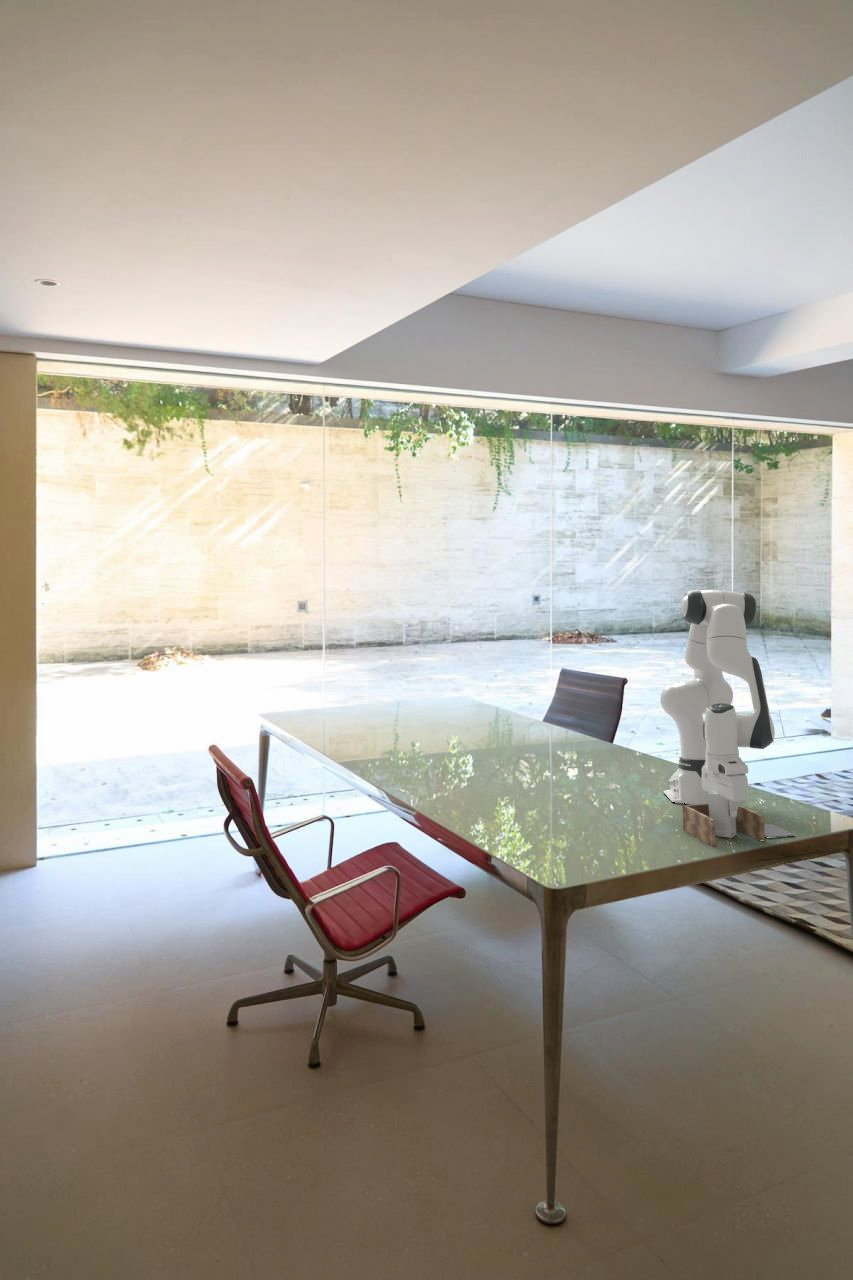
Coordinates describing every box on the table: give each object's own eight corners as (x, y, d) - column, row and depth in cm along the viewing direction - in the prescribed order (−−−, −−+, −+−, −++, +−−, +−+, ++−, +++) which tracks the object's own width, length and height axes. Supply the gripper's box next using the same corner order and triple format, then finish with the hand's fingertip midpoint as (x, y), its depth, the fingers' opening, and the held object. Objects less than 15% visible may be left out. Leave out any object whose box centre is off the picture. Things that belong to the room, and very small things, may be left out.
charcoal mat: (746, 828, 264) (746, 826, 264) (772, 826, 265) (772, 824, 265) (767, 838, 252) (767, 837, 252) (795, 836, 253) (795, 834, 253)
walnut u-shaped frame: (683, 829, 265) (682, 805, 265) (732, 825, 267) (732, 801, 267) (712, 846, 247) (711, 820, 247) (764, 841, 249) (763, 815, 249)
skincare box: (737, 835, 257) (735, 792, 256) (729, 838, 253) (728, 795, 253) (716, 832, 261) (714, 789, 260) (708, 835, 258) (707, 792, 257)
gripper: (694, 758, 266) (696, 806, 266) (729, 770, 246) (731, 821, 246) (715, 756, 267) (717, 804, 267) (751, 768, 247) (753, 819, 247)
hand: (724, 813), depth 256 cm, fingers open, 8 cm apart
